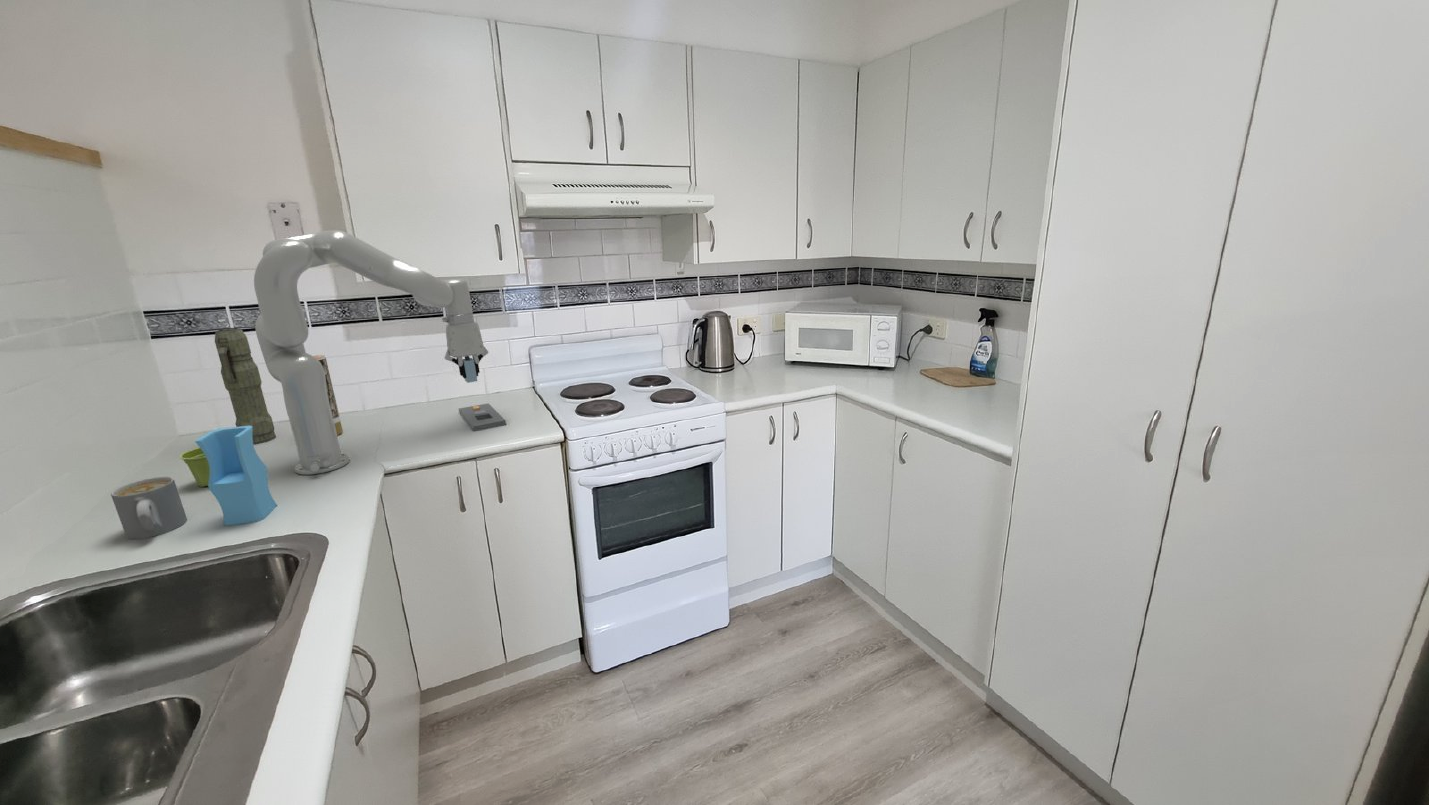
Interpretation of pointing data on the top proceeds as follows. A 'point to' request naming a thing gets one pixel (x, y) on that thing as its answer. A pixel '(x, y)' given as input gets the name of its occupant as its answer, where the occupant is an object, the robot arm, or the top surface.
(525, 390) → the top surface
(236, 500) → the blue toy armchair
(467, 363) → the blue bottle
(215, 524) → the top surface
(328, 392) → the paper tube
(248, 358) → the olive-green tall carved figure
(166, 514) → the coffee mug
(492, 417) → the plate
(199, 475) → the plant pot
